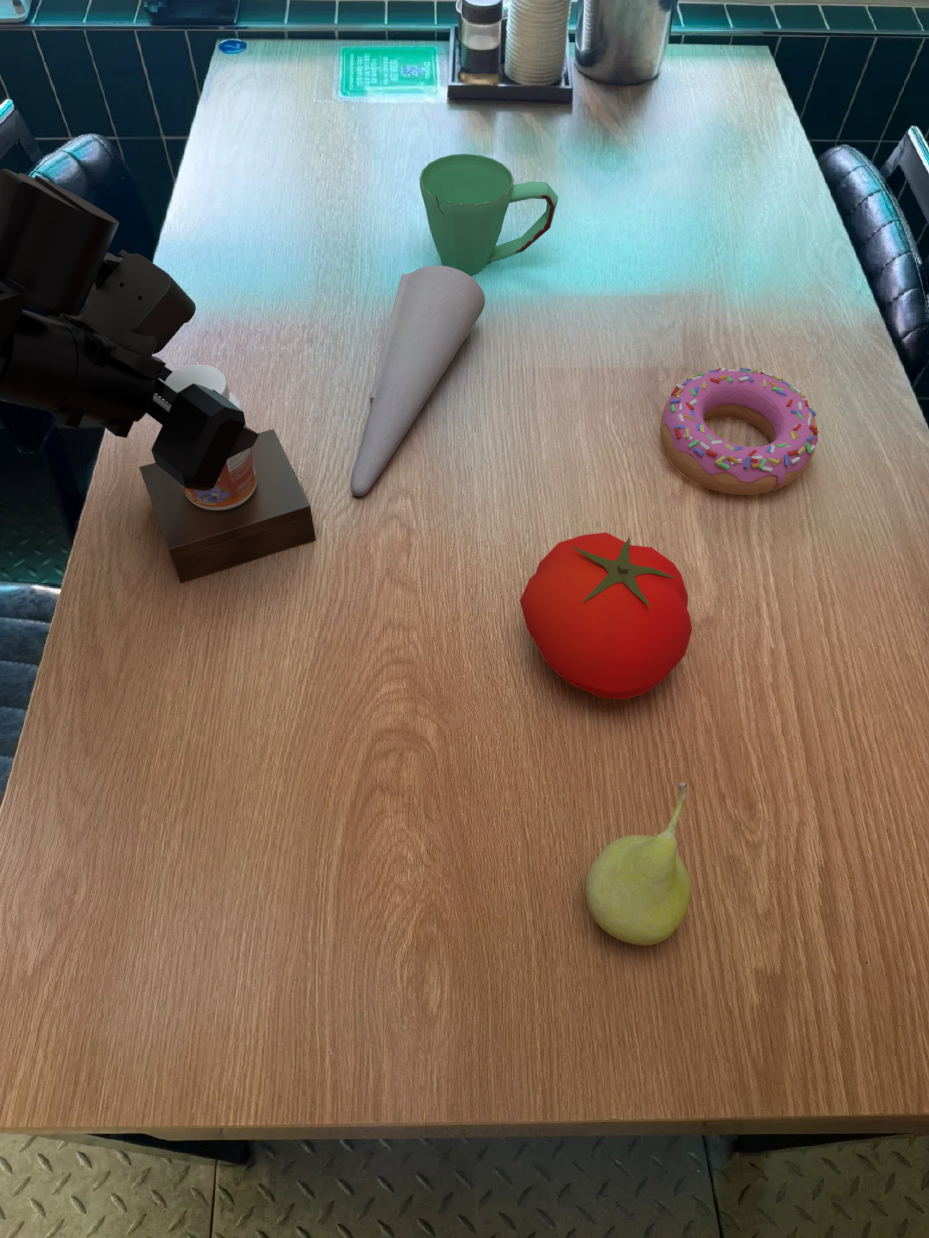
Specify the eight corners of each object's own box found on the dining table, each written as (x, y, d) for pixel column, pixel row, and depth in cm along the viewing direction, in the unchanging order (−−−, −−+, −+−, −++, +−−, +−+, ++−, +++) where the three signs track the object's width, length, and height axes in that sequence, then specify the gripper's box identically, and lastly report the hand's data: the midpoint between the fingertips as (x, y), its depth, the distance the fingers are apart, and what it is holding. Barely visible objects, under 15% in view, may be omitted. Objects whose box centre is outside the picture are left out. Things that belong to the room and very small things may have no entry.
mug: (420, 289, 104) (419, 204, 95) (421, 237, 109) (420, 152, 101) (553, 291, 104) (563, 206, 96) (547, 239, 110) (556, 155, 102)
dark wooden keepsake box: (180, 583, 80) (168, 549, 76) (151, 502, 85) (138, 466, 81) (316, 540, 83) (310, 505, 79) (280, 464, 88) (273, 428, 84)
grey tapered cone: (440, 481, 81) (486, 271, 93) (341, 466, 81) (400, 259, 94) (440, 531, 88) (483, 329, 100) (349, 517, 88) (403, 318, 100)
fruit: (565, 932, 63) (589, 867, 54) (602, 835, 67) (630, 758, 58) (661, 974, 62) (703, 915, 52) (693, 872, 66) (737, 800, 56)
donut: (634, 411, 93) (644, 371, 89) (767, 389, 95) (782, 349, 91) (690, 518, 85) (703, 479, 81) (834, 491, 87) (853, 452, 83)
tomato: (709, 676, 75) (744, 597, 67) (584, 748, 71) (605, 674, 63) (608, 564, 82) (628, 479, 73) (489, 625, 78) (495, 542, 69)
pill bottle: (169, 495, 79) (134, 393, 70) (215, 450, 82) (187, 347, 73) (228, 524, 78) (200, 423, 68) (273, 477, 81) (252, 374, 72)
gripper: (192, 314, 55) (346, 373, 69) (12, 188, 62) (185, 266, 76) (115, 480, 58) (278, 505, 72) (-48, 343, 65) (129, 390, 79)
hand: (216, 410), depth 74 cm, fingers open, 9 cm apart
